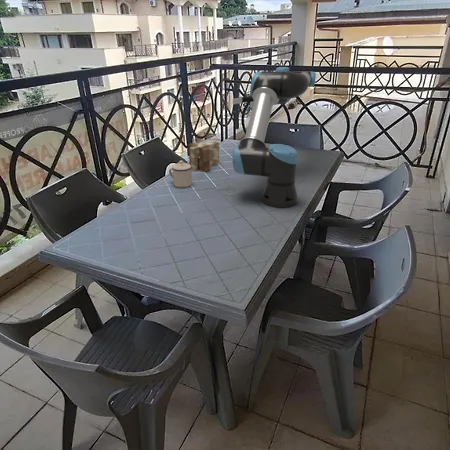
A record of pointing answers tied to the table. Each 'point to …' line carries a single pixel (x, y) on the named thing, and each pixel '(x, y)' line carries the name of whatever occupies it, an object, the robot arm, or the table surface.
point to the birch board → (212, 152)
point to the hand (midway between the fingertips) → (241, 103)
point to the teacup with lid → (181, 174)
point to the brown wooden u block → (201, 158)
